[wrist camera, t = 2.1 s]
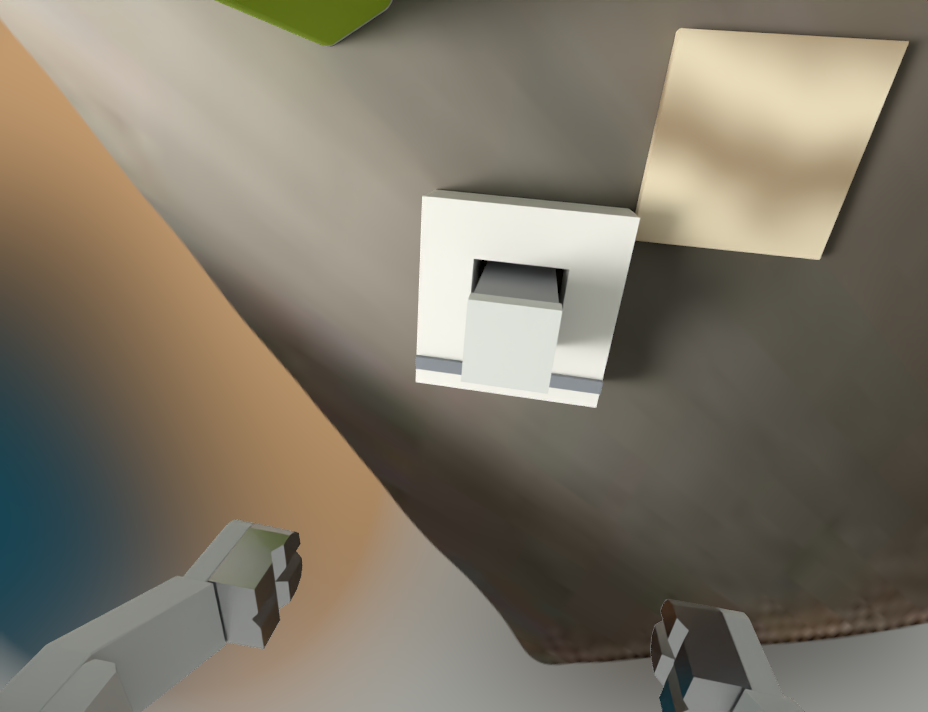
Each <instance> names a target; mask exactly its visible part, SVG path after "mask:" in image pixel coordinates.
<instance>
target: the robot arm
mask: <svg viewBox="0 0 928 712" xmlns="http://www.w3.org/2000/svg"><path fill="white" fill-rule="evenodd" d="M299 545H300V538H299V533H297V532H294V531H289V530H285V529H280V528H275V527H271V526H266V525H261V524H256V523H251V522H245V521H240V520H236V519H235V520H233V521H232V522H230V523H228V524H227V525H226V526H225V528H224V529H223V530H222V531H221V532H220V533H219V535H218V536H217V537H216V538H215V540H214V541H213V542H212V543H211V544H210V546H209V547H208V548H207V549H206V550H205V551H204V553H203V554H202V555H201V556H200V557H199V559H198V560H197V561H196V562H195V563H194V564H193V566H192V567H191V568H190V569H189V570H188V572H187V573H186V574H185V575H184V576H183V577H180V576H176V577H174V578H172V579H170V580H168V581H166V582H164V583H162V584H161V585H159V586H157V587H155V588H153V589H151V590H150V591H147V592H146V593H144V594H142V595H140V596H138V597H136V598H134V599H132V600H130V601H128V602H126V603H125V604H123V605H121V606H119V607H117V608H115V609H113V610H111V611H109V612H107V613H106V614H104V615H102V616H100V617H98V618H96V619H94V620H92V621H91V622H89V623H87V624H85V625H83V626H81V627H79V628H77V629H75V630H73V631H72V632H70V633H68V634H66V635H64V636H62V637H60V638H58V639H56V640H55V641H53V642H51V643H49V644H47V645H46V646H45V647H44V648H43V649H42V650H41V651H40V652H39V653H38V654H37V655H36V656H35V657H34V658H33V659H32V660H31V661H30V662H29V663H28V664H27V665H26V666H25V667H24V668H23V669H22V670H21V671H20V672H19V673H18V674H17V675H16V676H15V677H14V678H13V679H12V680H11V681H10V682H9V683H8V684H7V685H6V686H5V687H4V688H3V689H2V690H1V691H0V712H142V711H143V710H144V709H145V708H147V707H148V706H149V705H150V704H152V703H153V702H154V701H155V700H157V699H158V698H159V697H161V696H162V695H163V694H164V693H165V692H167V691H168V690H169V689H171V688H172V687H173V686H174V685H176V684H177V683H178V682H180V681H181V680H182V679H183V678H185V677H186V676H187V675H188V674H190V673H191V672H192V671H193V670H195V669H196V668H197V667H198V666H199V665H201V664H202V663H203V662H205V661H206V660H207V659H209V658H210V657H211V656H212V655H214V654H215V653H216V652H217V651H219V650H220V649H221V648H222V647H224V646H225V645H226V642H228V643H234V644H240V645H245V646H250V647H256V648H262V649H264V648H265V646H266V644H267V643H268V641H269V639H270V637H271V635H272V633H273V632H274V630H275V628H276V626H277V625H278V623H279V621H280V615H279V609H280V608H281V607H283V606H284V605H286V604H287V603H289V602H290V601H291V599H292V597H293V596H294V594H295V592H296V590H297V587H298V584H299V581H300V578H301V571H302V558H301V557H300V555H299V554H298V553H297V552H296V550H297V548H298V547H299ZM660 611H661V615H662V619H663V621H661V622H659V623H657V624H656V625H655V627H654V630H653V633H652V636H651V649H650V650H651V661H652V666H653V671H654V675H655V676H656V677H657V679H658V680H659V681H660V682H661V684H662V685H663V686H664V687H663V689H662V692H661V694H660V696H659V700H660V704H661V709H662V712H805V711H804V710H803V709H802V708H801V707H800V706H799V705H798V704H797V703H796V702H795V701H794V700H793V699H792V698H788V697H784V696H783V694H782V692H781V689H780V687H779V685H778V683H777V680H776V678H775V676H774V674H773V672H772V669H771V667H770V665H769V663H768V660H767V658H766V656H765V653H764V651H763V649H762V647H761V644H760V642H759V640H758V638H757V635H756V633H755V631H754V629H753V627H752V624H751V622H750V620H749V618H748V617H747V616H746V614H745V613H743V612H738V611H732V610H727V609H721V608H715V607H712V606H706V605H700V604H694V603H688V602H682V601H677V600H671V599H667V600H666V601H665V602H664V603H663V605H662V608H661V610H660Z"/></svg>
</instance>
